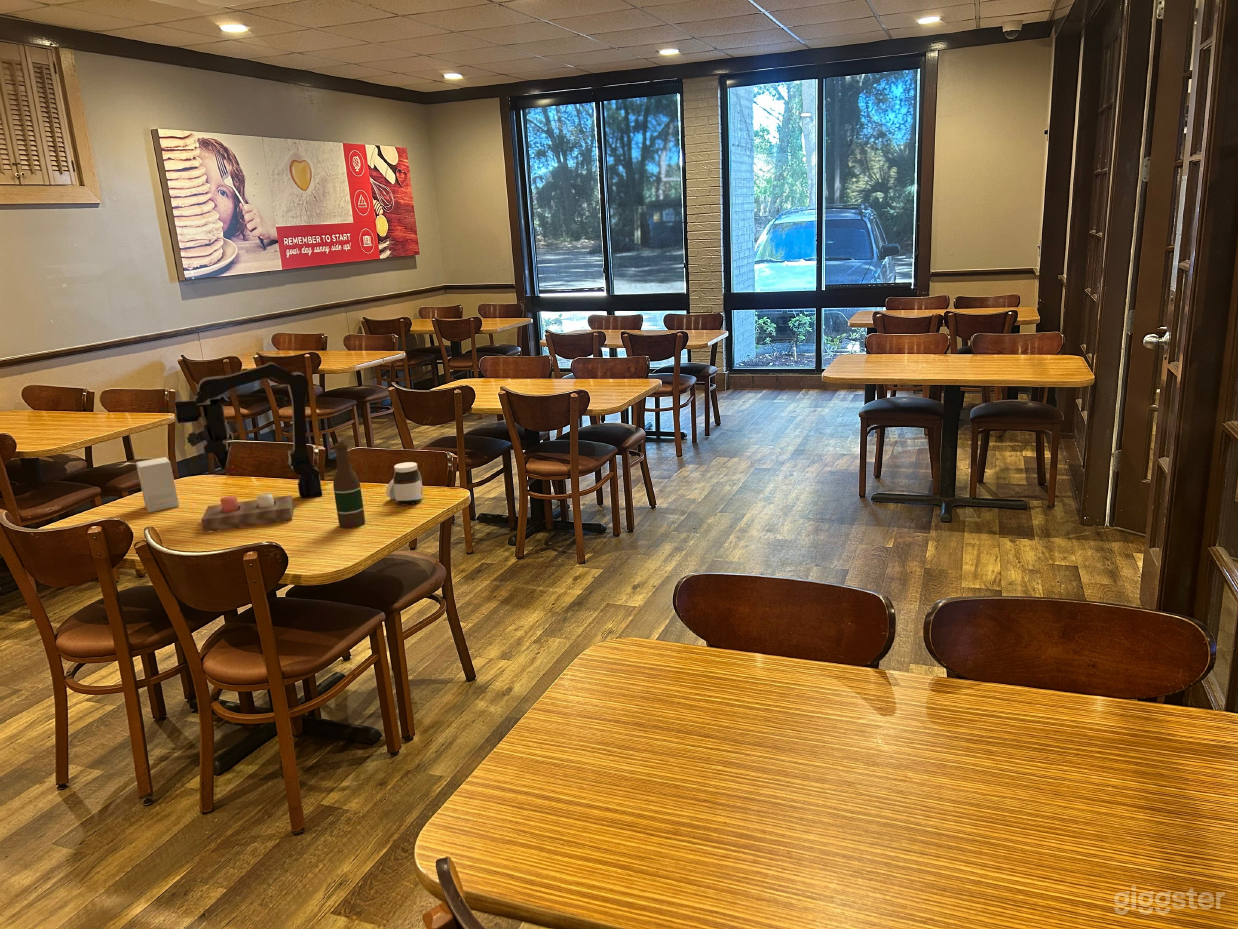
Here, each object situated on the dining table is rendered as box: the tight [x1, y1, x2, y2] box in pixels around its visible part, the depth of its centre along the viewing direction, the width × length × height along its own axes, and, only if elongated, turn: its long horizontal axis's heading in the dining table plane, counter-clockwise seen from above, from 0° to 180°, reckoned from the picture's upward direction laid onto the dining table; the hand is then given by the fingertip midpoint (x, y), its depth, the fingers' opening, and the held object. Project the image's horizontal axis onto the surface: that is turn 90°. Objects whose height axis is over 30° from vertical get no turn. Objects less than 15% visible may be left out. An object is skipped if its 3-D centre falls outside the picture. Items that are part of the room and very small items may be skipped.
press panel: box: [200, 494, 295, 533], centre depth 264 cm, size 24×14×4 cm, turn 107°
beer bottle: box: [332, 441, 366, 529], centre depth 251 cm, size 8×8×24 cm
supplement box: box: [135, 456, 180, 513], centre depth 281 cm, size 9×9×15 cm
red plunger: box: [219, 495, 239, 513], centre depth 262 cm, size 4×4×6 cm
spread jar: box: [385, 461, 424, 505], centre depth 273 cm, size 12×11×12 cm
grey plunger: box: [256, 493, 274, 508], centre depth 265 cm, size 4×4×6 cm
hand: (223, 468), depth 273 cm, fingers closed
